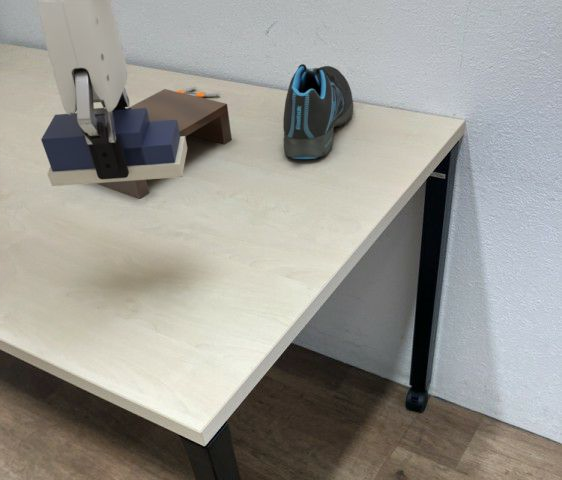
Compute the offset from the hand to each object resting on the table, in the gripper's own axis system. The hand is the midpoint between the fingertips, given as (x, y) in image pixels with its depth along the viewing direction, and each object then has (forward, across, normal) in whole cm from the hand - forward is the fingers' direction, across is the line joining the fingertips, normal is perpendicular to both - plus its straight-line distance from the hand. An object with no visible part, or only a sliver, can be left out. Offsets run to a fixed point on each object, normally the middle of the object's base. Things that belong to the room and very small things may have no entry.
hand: (119, 159), depth 66 cm
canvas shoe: (+1, 0, 0) cm, 1 cm away
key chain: (+16, -56, -1) cm, 58 cm away
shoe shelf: (+16, -32, -3) cm, 36 cm away
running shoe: (+16, -39, +24) cm, 49 cm away
